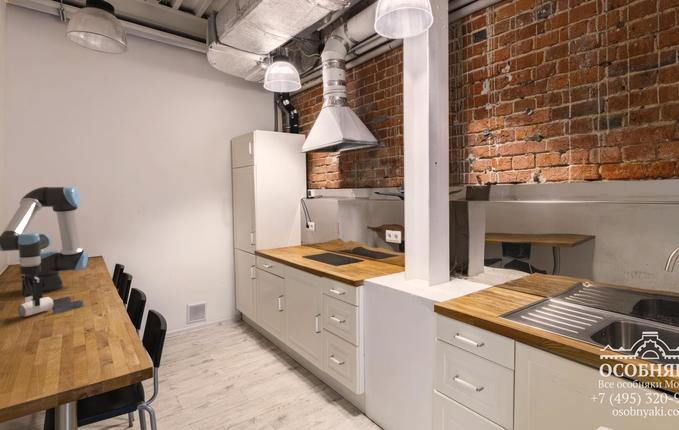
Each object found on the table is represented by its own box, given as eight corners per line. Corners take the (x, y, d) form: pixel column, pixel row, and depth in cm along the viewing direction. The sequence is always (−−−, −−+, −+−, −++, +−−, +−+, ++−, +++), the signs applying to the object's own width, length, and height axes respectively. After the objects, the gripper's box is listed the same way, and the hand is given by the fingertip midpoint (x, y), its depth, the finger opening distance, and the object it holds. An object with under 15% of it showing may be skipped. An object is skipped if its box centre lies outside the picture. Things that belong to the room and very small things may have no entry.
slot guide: (40, 308, 172) (40, 303, 172) (67, 302, 183) (67, 296, 183) (55, 313, 166) (55, 307, 166) (82, 306, 177) (82, 301, 176)
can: (51, 294, 170) (23, 302, 158) (55, 306, 170) (27, 315, 158) (43, 298, 172) (15, 306, 160) (47, 310, 171) (19, 319, 160)
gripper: (10, 264, 163) (13, 309, 165) (30, 268, 154) (33, 317, 156) (30, 261, 170) (32, 305, 171) (50, 265, 161) (52, 311, 163)
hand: (33, 310), depth 164 cm, fingers closed on can, 7 cm apart
